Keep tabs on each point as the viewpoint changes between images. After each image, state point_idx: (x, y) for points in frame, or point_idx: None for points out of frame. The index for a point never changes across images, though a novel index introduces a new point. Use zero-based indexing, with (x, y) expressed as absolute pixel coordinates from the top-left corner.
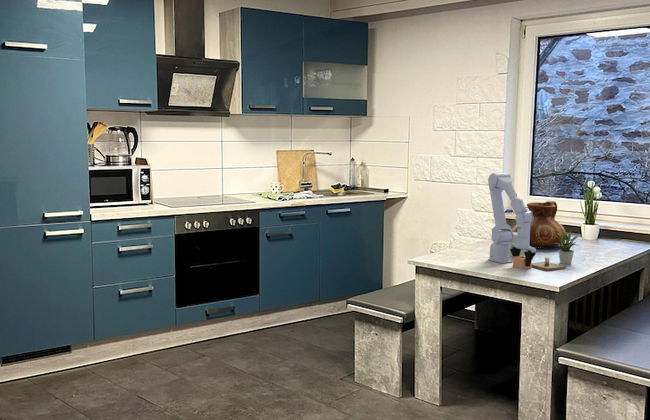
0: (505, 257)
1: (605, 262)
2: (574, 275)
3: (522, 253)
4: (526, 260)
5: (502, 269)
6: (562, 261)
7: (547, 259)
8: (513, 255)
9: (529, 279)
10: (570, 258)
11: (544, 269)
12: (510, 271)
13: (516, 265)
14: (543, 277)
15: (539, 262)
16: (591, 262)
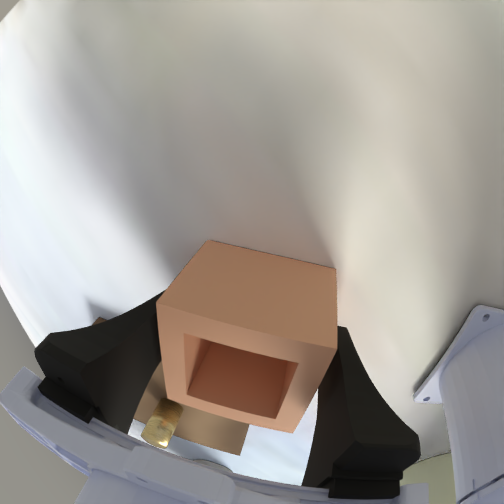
0: (465, 381)
1: None
2: (25, 313)
3: (404, 483)
4: (137, 312)
5: (331, 69)
6: None
7: (145, 427)
8: (356, 384)
9: (11, 43)
10: None
11: None
12: (208, 64)
13: (279, 270)
14: (6, 156)
15: (243, 434)
16: None
